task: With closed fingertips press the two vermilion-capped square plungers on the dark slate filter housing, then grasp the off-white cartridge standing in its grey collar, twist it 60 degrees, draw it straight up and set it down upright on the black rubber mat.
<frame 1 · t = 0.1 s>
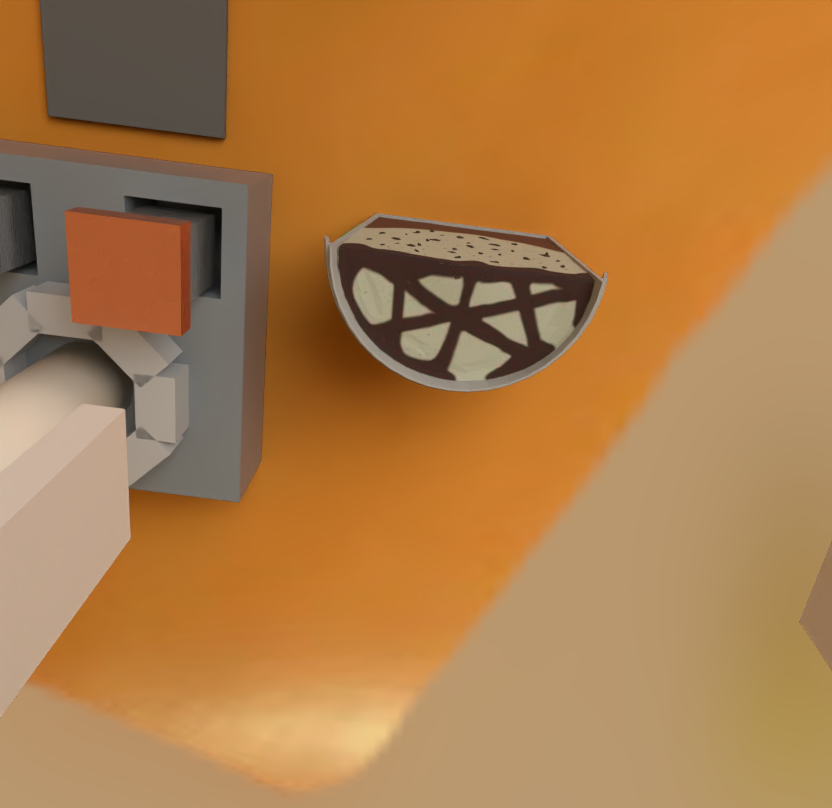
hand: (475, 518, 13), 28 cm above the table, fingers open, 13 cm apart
food container: (455, 280, 40), on the table
housing: (126, 302, 41), on the table
cartridge: (89, 383, 38), point 5 cm above the table, touching housing
mat: (136, 29, 36), on the table
plunger b: (155, 258, 33), point 7 cm above the table, slide at 0.0 cm
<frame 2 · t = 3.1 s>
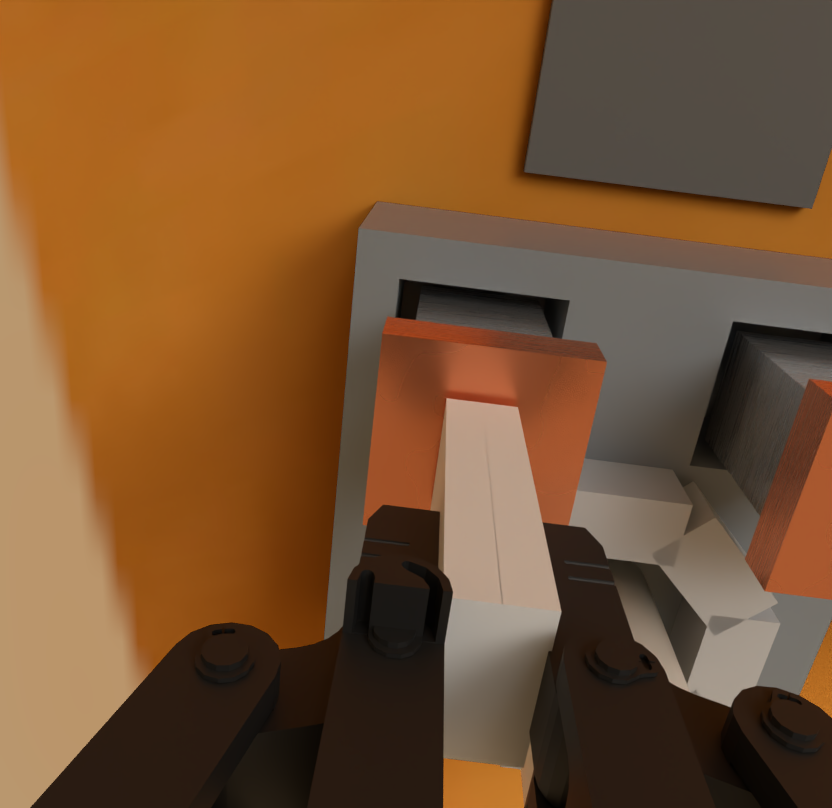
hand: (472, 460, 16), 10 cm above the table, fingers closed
plunger a: (474, 389, 19), point 7 cm above the table, slide at 0.6 cm, touching gripper
housing: (572, 451, 27), on the table
cartridge: (577, 604, 23), point 5 cm above the table, touching housing
mat: (703, 30, 21), on the table
plunger b: (831, 444, 18), point 7 cm above the table, slide at 0.0 cm
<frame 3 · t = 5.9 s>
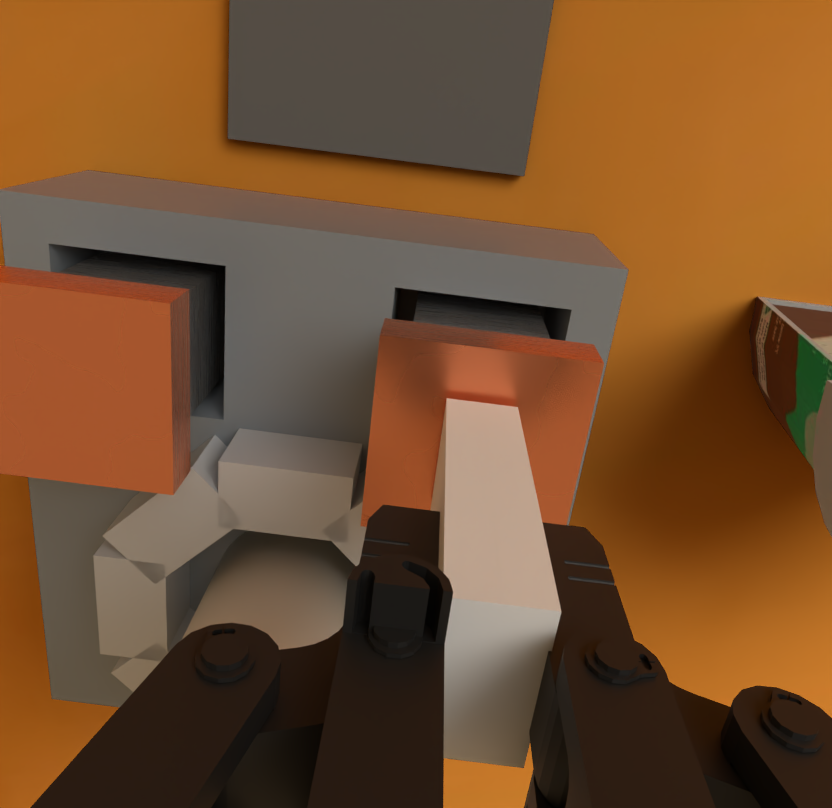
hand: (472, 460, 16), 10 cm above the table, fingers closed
plunger a: (129, 343, 19), point 6 cm above the table, slide at 1.7 cm
housing: (324, 430, 26), on the table
cartridge: (291, 585, 23), point 5 cm above the table, touching housing
plunger b: (471, 390, 19), point 6 cm above the table, slide at 1.4 cm, touching gripper
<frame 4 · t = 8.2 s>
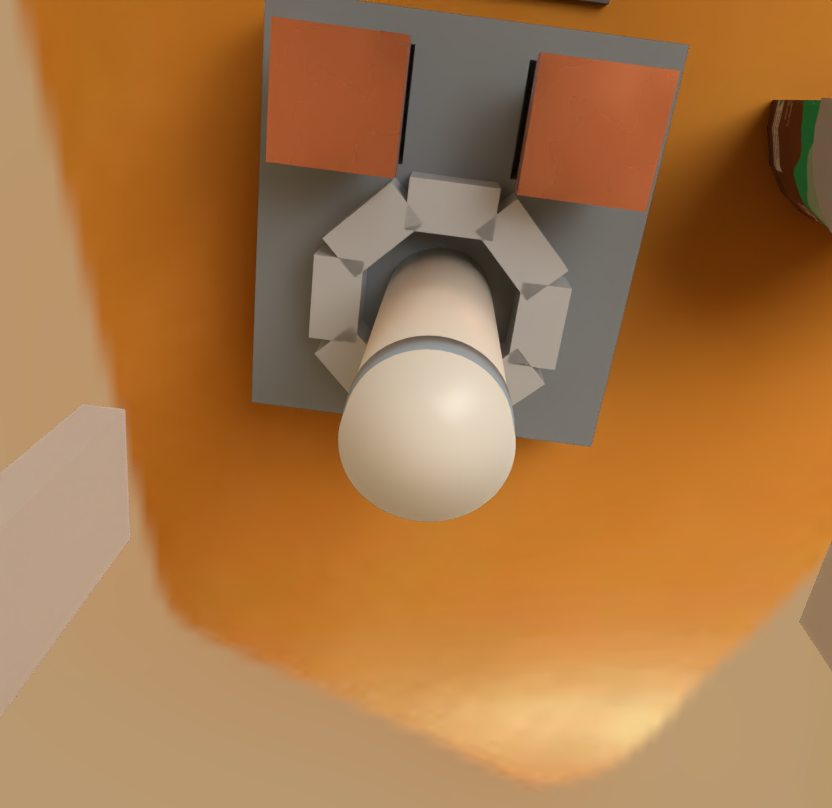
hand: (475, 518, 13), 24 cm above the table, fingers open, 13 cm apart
plunger a: (348, 98, 28), point 6 cm above the table, slide at 1.7 cm
housing: (449, 212, 35), on the table
cartridge: (438, 300, 32), point 5 cm above the table, touching housing
plunger b: (580, 129, 28), point 6 cm above the table, slide at 1.7 cm
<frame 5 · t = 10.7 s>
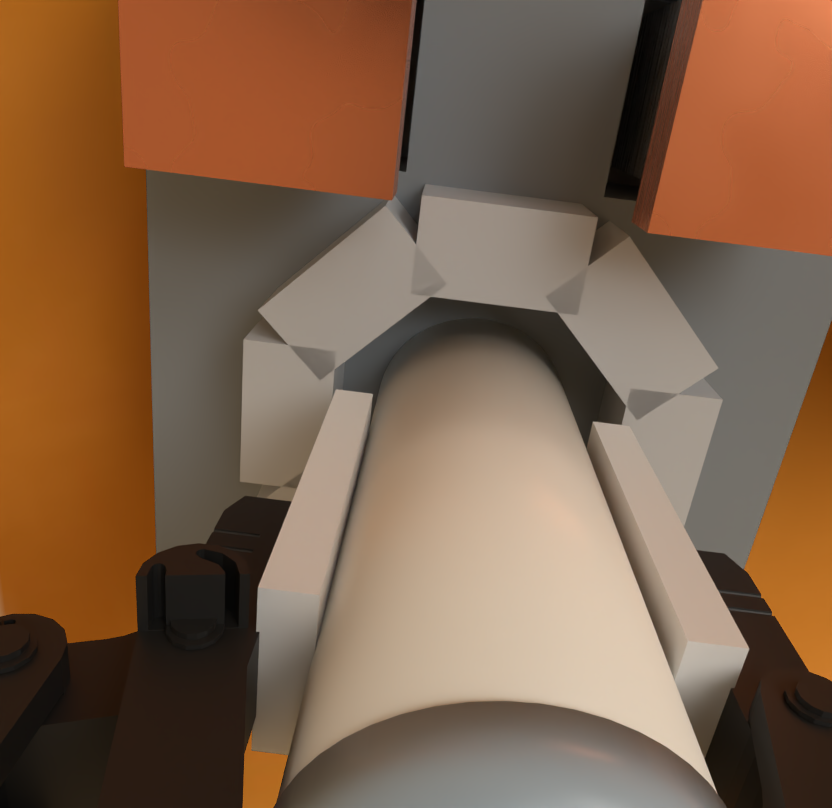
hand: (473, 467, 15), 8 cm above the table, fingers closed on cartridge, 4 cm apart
plunger a: (302, 47, 15), point 6 cm above the table, slide at 1.7 cm
housing: (480, 249, 22), on the table
cartridge: (469, 407, 18), point 5 cm above the table, touching gripper, housing
plunger b: (747, 103, 15), point 6 cm above the table, slide at 1.7 cm
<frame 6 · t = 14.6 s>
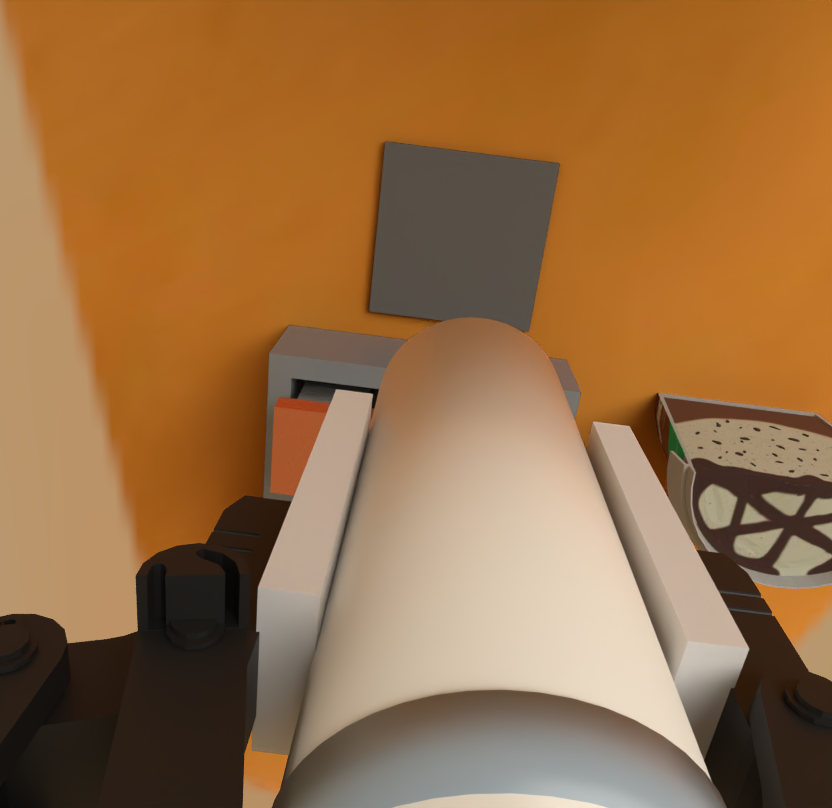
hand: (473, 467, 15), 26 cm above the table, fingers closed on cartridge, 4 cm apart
food container: (721, 448, 44), on the table
plunger a: (330, 427, 38), point 6 cm above the table, slide at 1.7 cm
housing: (412, 465, 45), on the table
cartridge: (469, 405, 18), point 23 cm above the table, touching gripper
mat: (460, 239, 40), on the table
when the fingers open (6 cm above the table, at t = 18.6 s): cartridge stays where it is, resting on mat.
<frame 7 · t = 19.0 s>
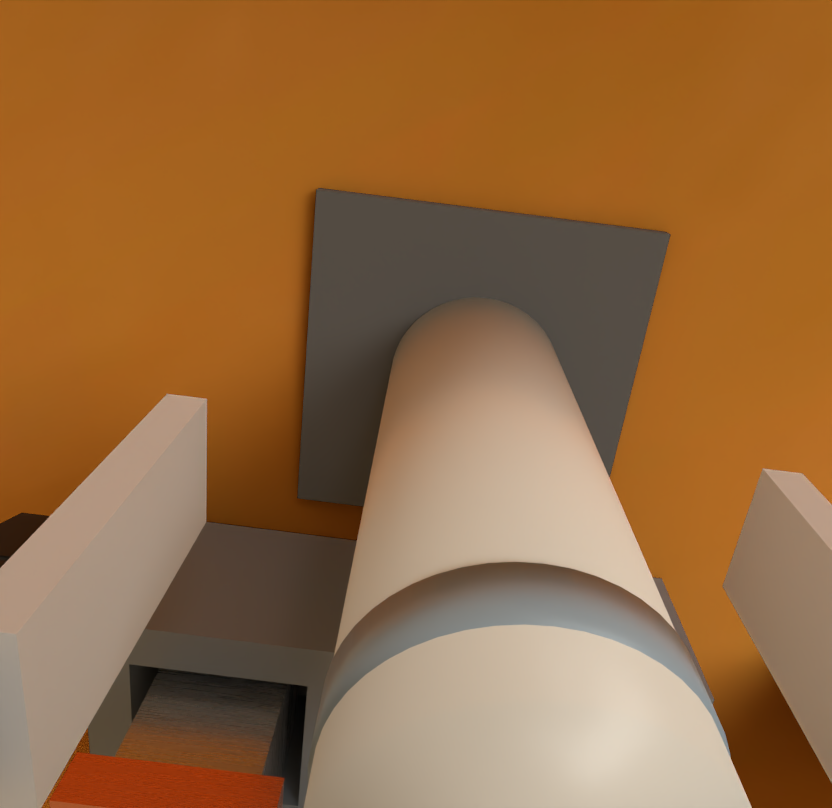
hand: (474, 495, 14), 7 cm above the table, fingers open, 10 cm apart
plunger a: (209, 759, 19), point 6 cm above the table, slide at 1.7 cm
housing: (383, 735, 26), on the table
cartridge: (474, 378, 20), resting on mat
mat: (467, 372, 21), on the table
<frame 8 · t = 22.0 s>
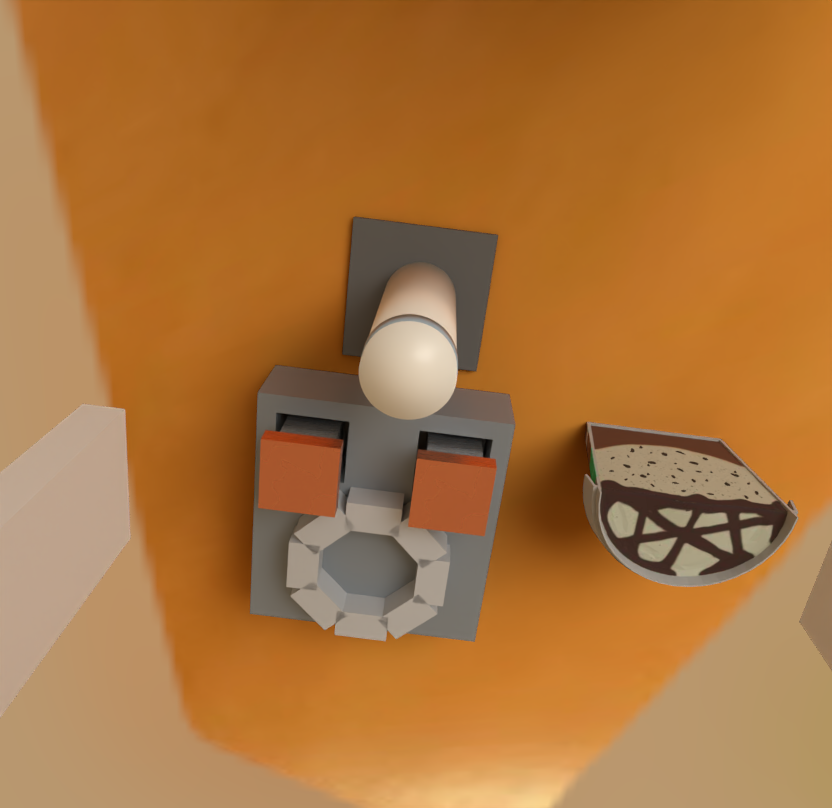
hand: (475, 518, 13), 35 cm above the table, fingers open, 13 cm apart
food container: (642, 468, 52), on the table
plunger a: (308, 453, 46), point 6 cm above the table, slide at 1.7 cm
housing: (381, 482, 53), on the table
cartridge: (419, 297, 47), resting on mat
mat: (417, 295, 47), on the table
plunger b: (451, 471, 46), point 6 cm above the table, slide at 1.7 cm
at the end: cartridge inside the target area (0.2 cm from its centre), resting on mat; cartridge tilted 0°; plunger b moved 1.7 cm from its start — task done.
